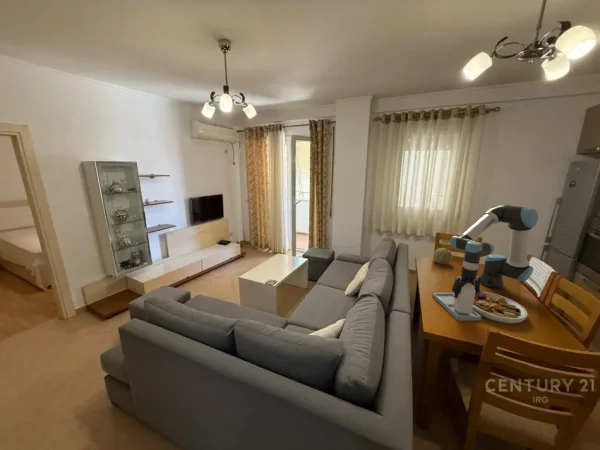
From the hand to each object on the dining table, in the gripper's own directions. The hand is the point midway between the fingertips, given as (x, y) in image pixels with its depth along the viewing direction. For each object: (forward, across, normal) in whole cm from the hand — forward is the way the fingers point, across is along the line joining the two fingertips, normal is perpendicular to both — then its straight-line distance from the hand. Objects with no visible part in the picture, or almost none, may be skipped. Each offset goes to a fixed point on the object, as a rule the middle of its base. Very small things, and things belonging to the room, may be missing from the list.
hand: (463, 302), depth 147 cm
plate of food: (+8, -22, -2) cm, 24 cm away
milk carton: (+5, 0, 0) cm, 5 cm away
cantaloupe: (+8, -33, -76) cm, 84 cm away
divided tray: (+7, 0, -6) cm, 10 cm away
